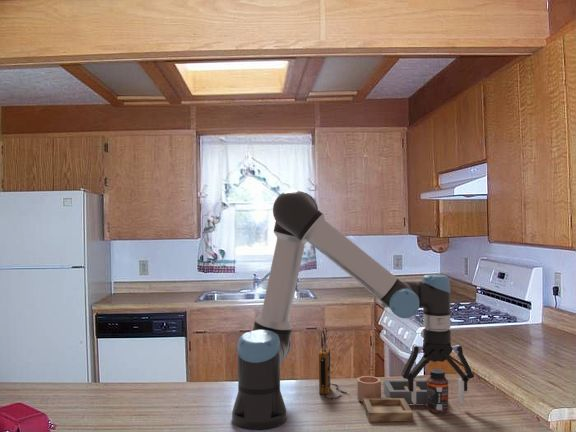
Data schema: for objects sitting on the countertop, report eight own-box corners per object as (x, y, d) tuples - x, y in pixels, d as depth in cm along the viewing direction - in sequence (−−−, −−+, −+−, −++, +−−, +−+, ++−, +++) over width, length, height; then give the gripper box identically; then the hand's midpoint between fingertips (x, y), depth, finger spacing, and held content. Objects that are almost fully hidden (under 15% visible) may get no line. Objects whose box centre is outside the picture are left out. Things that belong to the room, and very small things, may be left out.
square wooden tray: (368, 421, 139) (368, 412, 139) (363, 406, 150) (363, 397, 150) (412, 421, 139) (412, 412, 139) (404, 406, 150) (403, 397, 150)
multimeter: (349, 400, 155) (349, 335, 155) (317, 398, 157) (316, 333, 157) (353, 385, 170) (352, 325, 170) (323, 383, 172) (323, 324, 172)
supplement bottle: (445, 415, 143) (445, 375, 143) (424, 411, 146) (423, 372, 146) (450, 408, 148) (450, 369, 148) (430, 405, 151) (430, 366, 151)
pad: (406, 394, 154) (406, 391, 154) (403, 389, 159) (403, 386, 159) (421, 394, 154) (421, 391, 154) (418, 389, 159) (418, 386, 159)
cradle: (389, 405, 151) (389, 391, 151) (383, 392, 162) (383, 379, 162) (444, 405, 151) (443, 391, 151) (434, 392, 162) (433, 379, 162)
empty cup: (358, 403, 153) (358, 383, 153) (356, 395, 160) (355, 376, 160) (382, 403, 153) (382, 383, 153) (378, 395, 160) (378, 376, 160)
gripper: (396, 331, 143) (396, 407, 143) (485, 331, 143) (486, 406, 143) (391, 326, 151) (391, 397, 151) (475, 325, 151) (476, 397, 150)
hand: (437, 402), depth 147 cm, fingers open, 13 cm apart
